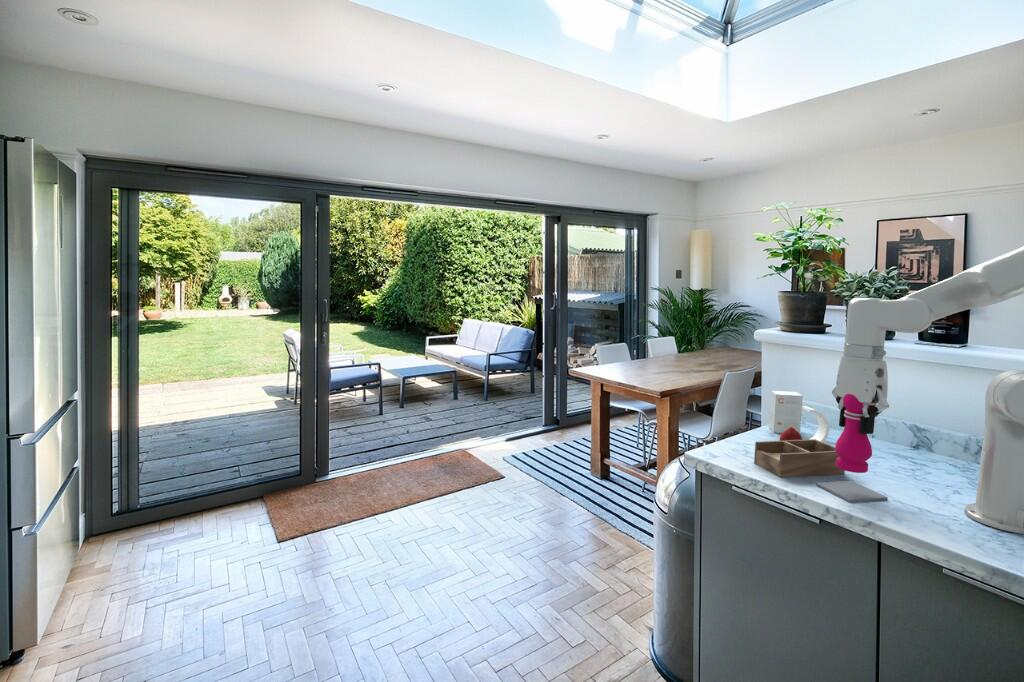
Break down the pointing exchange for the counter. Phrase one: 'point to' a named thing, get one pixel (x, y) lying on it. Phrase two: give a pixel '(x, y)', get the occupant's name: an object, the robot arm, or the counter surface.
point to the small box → (785, 411)
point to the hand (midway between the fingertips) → (855, 429)
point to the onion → (790, 434)
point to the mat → (851, 491)
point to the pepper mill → (853, 439)
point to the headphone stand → (822, 427)
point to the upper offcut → (775, 455)
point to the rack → (797, 458)
